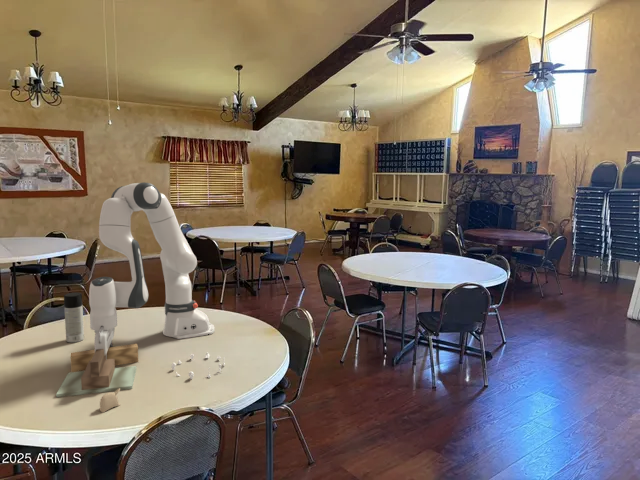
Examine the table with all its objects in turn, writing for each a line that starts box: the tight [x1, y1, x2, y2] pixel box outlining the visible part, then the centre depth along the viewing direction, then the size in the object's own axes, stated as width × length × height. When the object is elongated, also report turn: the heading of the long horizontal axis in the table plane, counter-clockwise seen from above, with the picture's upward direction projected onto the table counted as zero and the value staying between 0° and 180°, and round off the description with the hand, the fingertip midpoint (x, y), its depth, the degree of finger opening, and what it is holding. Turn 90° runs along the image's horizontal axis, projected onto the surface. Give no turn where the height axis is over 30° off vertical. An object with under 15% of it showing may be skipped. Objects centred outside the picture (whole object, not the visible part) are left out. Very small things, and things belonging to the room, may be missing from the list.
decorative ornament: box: [99, 388, 121, 413], centre depth 133 cm, size 3×7×4 cm, turn 144°
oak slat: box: [70, 343, 139, 372], centre depth 162 cm, size 22×4×6 cm, turn 117°
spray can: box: [63, 292, 85, 343], centre depth 184 cm, size 7×7×20 cm
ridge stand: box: [55, 349, 137, 398], centre depth 148 cm, size 22×16×10 cm
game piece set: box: [171, 352, 226, 380], centre depth 161 cm, size 19×20×4 cm
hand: (105, 358), depth 162 cm, fingers closed on oak slat, 4 cm apart
